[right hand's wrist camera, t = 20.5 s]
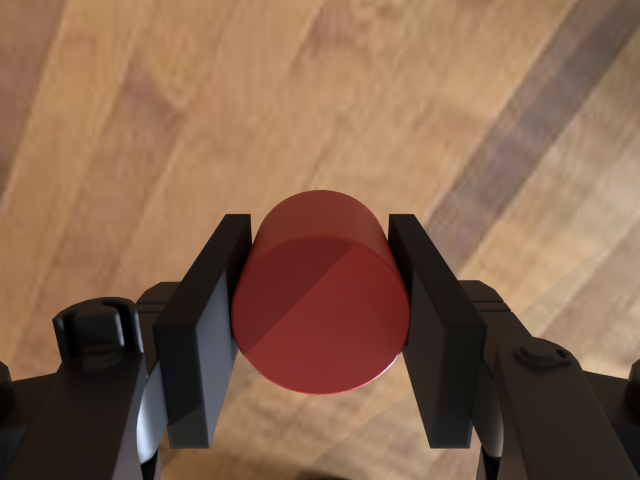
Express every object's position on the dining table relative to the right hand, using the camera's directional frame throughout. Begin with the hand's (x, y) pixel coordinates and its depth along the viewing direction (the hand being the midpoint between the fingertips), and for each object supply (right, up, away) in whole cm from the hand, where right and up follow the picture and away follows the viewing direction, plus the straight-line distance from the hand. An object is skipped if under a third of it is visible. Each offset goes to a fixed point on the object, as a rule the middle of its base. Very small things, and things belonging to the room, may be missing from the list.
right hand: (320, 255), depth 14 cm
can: (0, 0, 0) cm, 0 cm away
